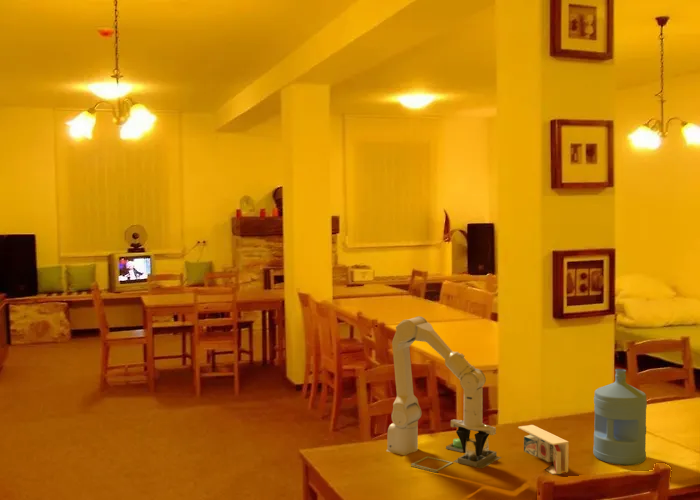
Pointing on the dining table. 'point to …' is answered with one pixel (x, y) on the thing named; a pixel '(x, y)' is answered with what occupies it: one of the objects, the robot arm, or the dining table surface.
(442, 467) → the tote tray
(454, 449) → the button housing
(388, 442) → the robot arm
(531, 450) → the cigarette display
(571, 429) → the dining table surface
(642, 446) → the water jug
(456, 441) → the button
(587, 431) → the dining table surface
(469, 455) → the cylinder
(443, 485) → the dining table surface
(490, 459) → the grey pocketed tray
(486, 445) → the seated billet
